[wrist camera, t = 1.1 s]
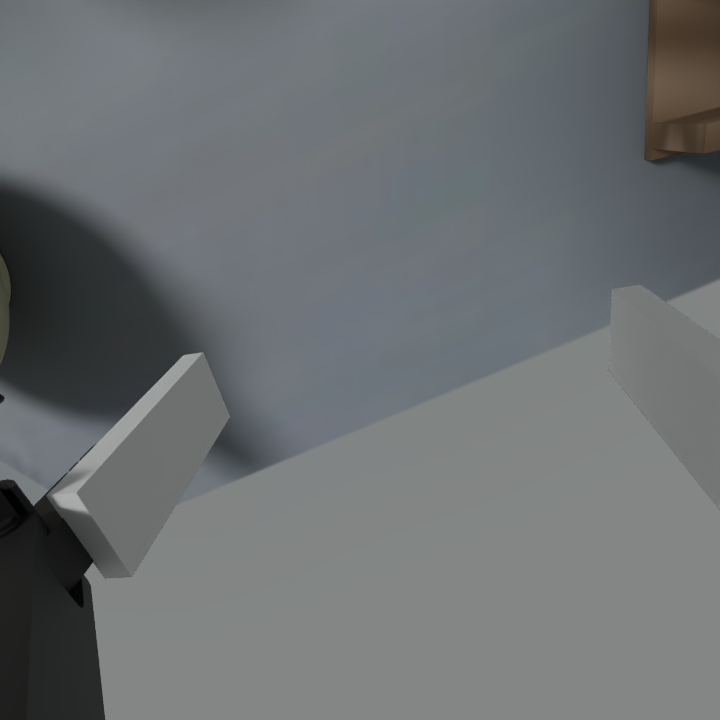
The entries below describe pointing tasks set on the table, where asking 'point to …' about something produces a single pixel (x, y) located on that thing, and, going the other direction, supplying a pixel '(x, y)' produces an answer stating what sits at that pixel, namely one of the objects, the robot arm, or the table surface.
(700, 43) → the u rest
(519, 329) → the table surface
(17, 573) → the robot arm
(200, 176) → the table surface
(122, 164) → the table surface
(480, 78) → the table surface
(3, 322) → the pitcher
